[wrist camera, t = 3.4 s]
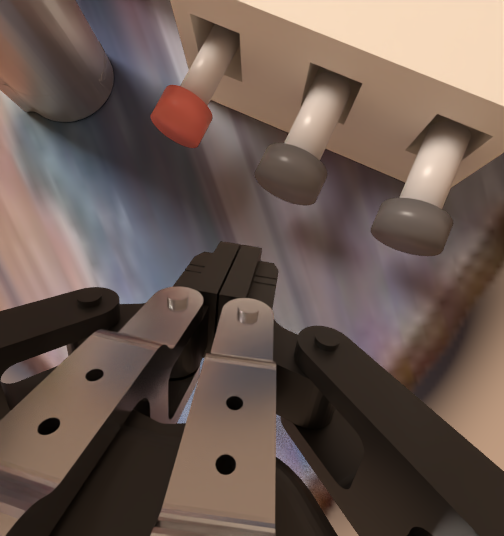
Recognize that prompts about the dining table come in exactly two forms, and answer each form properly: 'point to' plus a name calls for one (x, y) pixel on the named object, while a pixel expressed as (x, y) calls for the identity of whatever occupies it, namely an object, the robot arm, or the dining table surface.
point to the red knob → (196, 90)
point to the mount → (365, 69)
